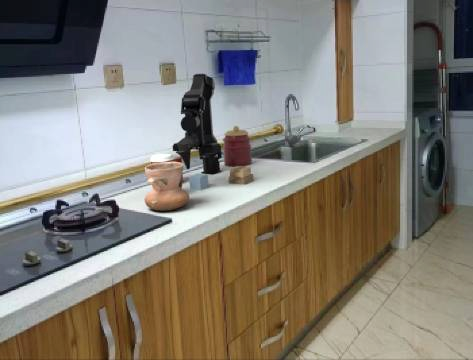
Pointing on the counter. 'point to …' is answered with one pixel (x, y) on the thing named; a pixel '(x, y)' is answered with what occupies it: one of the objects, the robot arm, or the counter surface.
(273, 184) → the counter surface
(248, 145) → the canister
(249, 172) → the tower mid
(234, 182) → the tower base
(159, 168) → the ceramic jug
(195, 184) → the block
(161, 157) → the coffee cup
